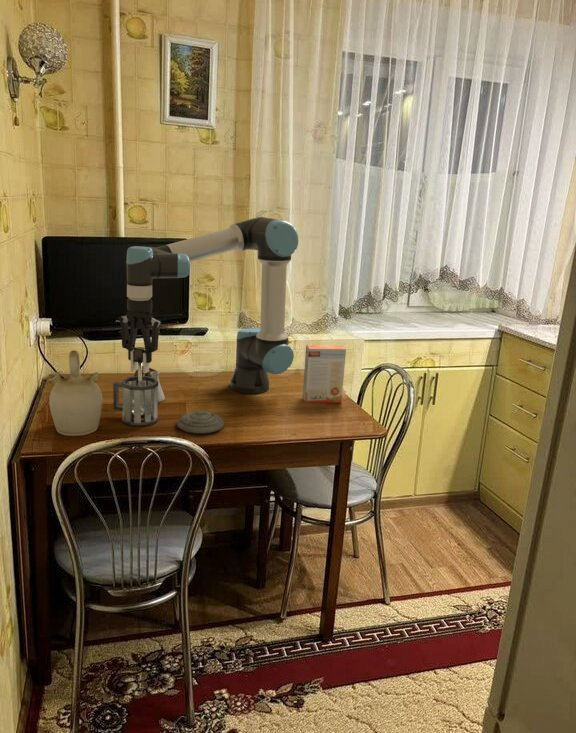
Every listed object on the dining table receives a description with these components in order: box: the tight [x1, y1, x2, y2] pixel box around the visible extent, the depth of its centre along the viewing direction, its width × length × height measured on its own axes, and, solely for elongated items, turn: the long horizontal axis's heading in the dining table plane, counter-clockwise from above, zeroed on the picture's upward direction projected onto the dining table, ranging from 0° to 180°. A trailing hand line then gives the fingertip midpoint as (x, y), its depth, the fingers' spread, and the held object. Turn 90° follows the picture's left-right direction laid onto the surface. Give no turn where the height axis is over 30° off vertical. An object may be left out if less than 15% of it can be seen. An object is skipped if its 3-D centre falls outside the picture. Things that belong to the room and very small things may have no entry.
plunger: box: [132, 346, 152, 416], centre depth 192 cm, size 8×8×21 cm
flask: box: [150, 371, 166, 403], centre depth 213 cm, size 7×7×10 cm
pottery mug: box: [133, 365, 159, 386], centre depth 229 cm, size 12×10×8 cm
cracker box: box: [302, 344, 347, 404], centre depth 223 cm, size 14×6×21 cm, turn 99°
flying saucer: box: [176, 410, 225, 435], centre depth 193 cm, size 15×15×6 cm
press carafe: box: [112, 375, 159, 428], centre depth 195 cm, size 15×12×13 cm
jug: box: [48, 350, 104, 437], centre depth 182 cm, size 15×16×25 cm
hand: (140, 371), depth 191 cm, fingers closed on plunger, 4 cm apart
